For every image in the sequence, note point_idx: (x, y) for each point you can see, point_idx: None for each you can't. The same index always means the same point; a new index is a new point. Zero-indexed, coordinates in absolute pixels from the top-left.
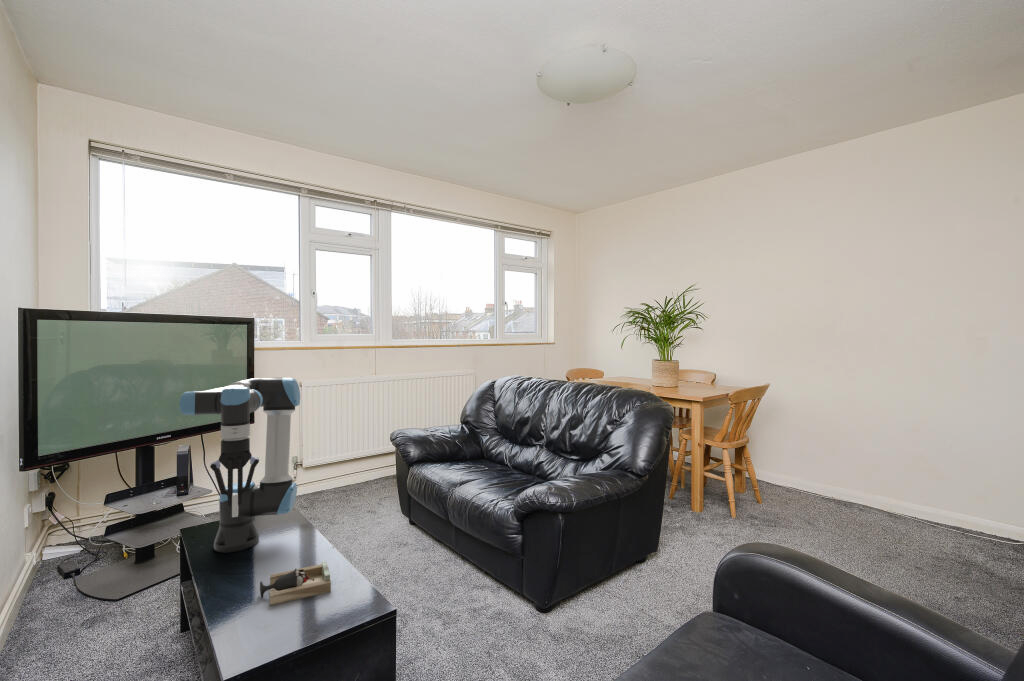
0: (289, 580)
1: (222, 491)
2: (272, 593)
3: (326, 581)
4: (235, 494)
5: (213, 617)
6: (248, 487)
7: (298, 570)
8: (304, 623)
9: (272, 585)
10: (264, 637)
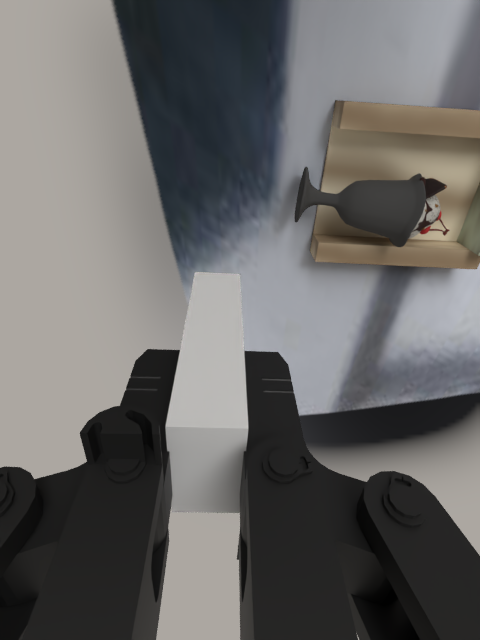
0: (382, 234)
1: (14, 600)
2: (323, 250)
3: (469, 259)
4: (210, 485)
5: (176, 232)
6: (399, 611)
7: (428, 196)
8: (357, 354)
9: (333, 205)
10: None
